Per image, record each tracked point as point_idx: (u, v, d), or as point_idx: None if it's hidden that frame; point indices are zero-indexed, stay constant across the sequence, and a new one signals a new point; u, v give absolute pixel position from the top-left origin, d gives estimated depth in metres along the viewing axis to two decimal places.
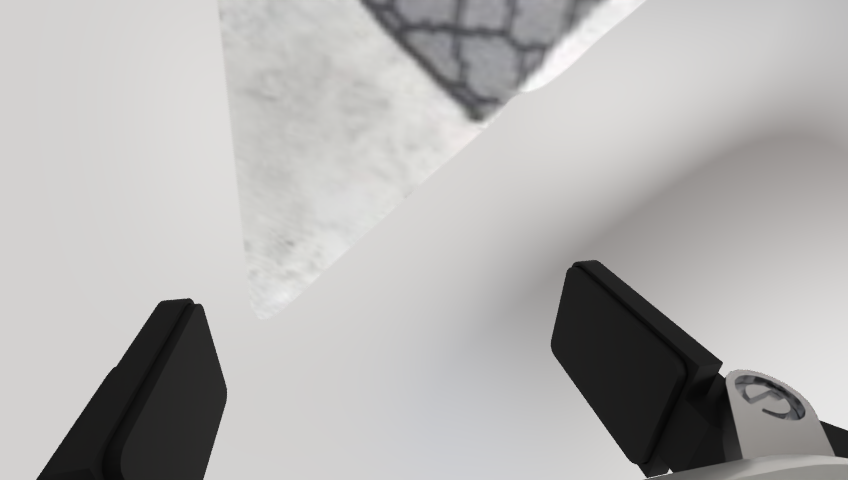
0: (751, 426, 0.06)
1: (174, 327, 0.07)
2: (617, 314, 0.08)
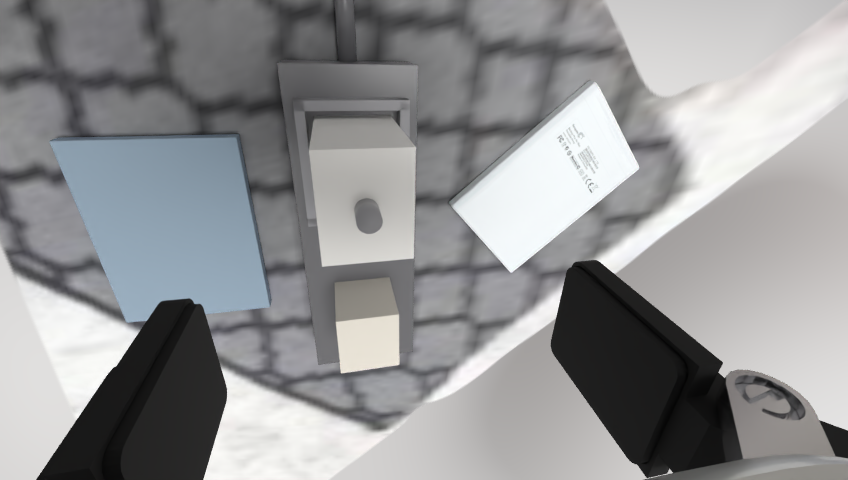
0: (751, 426, 0.06)
1: (174, 327, 0.07)
2: (617, 314, 0.08)
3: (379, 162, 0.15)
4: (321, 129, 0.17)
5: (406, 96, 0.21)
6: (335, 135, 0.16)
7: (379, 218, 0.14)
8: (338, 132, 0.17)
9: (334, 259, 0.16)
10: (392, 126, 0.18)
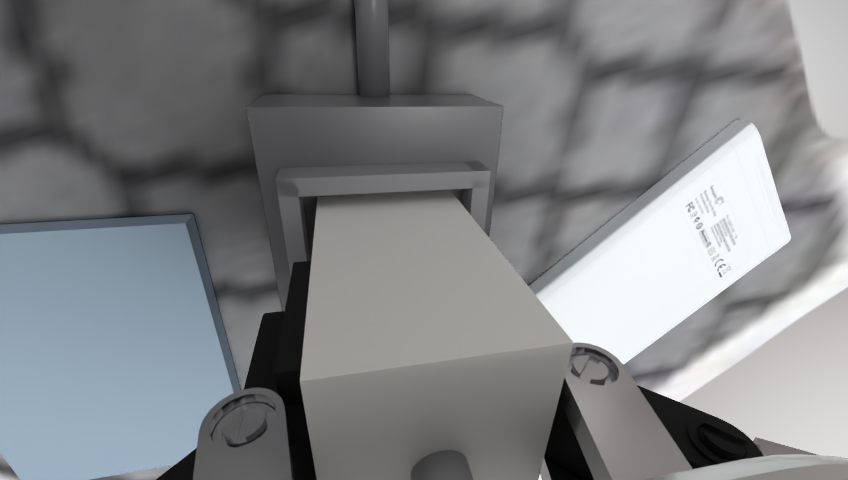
0: (590, 404, 0.06)
1: None
2: None
3: (482, 381, 0.06)
4: (331, 250, 0.08)
5: (479, 159, 0.12)
6: (363, 278, 0.07)
7: None
8: (368, 263, 0.08)
9: None
10: (471, 232, 0.09)
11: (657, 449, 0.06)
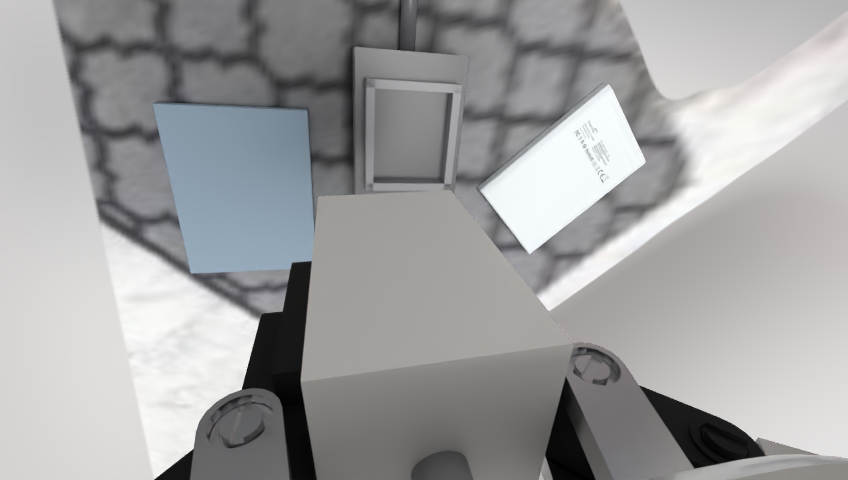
0: (592, 404, 0.06)
1: None
2: None
3: (482, 382, 0.06)
4: (332, 250, 0.08)
5: (457, 82, 0.24)
6: (364, 278, 0.07)
7: None
8: (369, 263, 0.08)
9: None
10: (471, 232, 0.09)
11: (659, 449, 0.06)
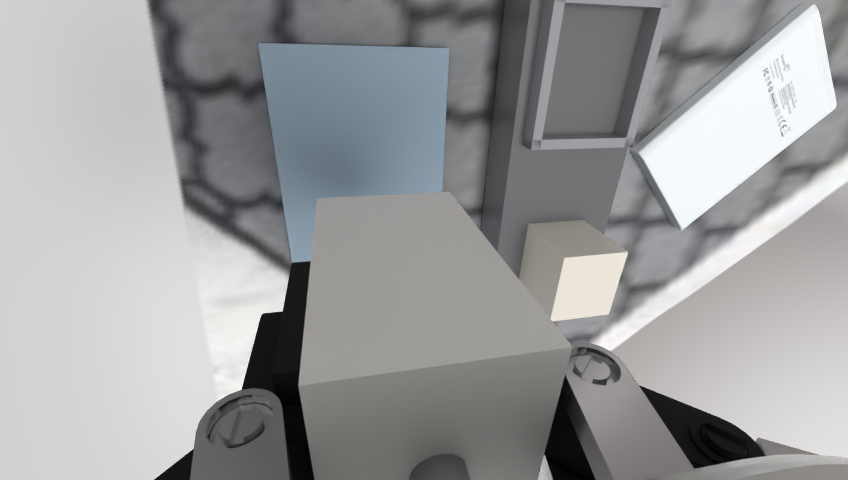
0: (592, 404, 0.06)
1: None
2: None
3: (480, 386, 0.06)
4: (331, 253, 0.08)
5: None
6: (362, 281, 0.07)
7: None
8: (367, 266, 0.08)
9: None
10: (470, 235, 0.09)
11: (659, 449, 0.06)
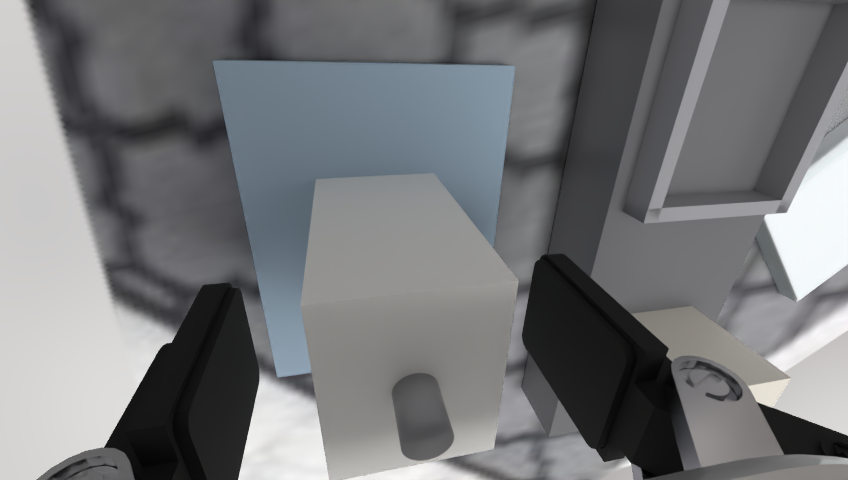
0: (698, 412, 0.06)
1: (219, 308, 0.08)
2: (577, 304, 0.09)
3: (445, 312, 0.07)
4: (327, 219, 0.10)
5: None
6: (353, 239, 0.09)
7: (448, 434, 0.07)
8: (357, 228, 0.09)
9: (352, 469, 0.09)
10: (447, 205, 0.11)
11: None
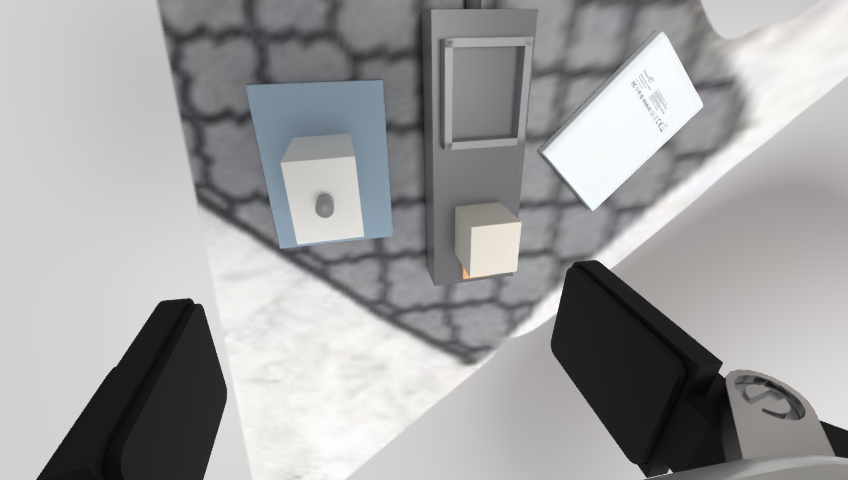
0: (751, 426, 0.06)
1: (174, 327, 0.07)
2: (617, 314, 0.08)
3: (330, 168, 0.21)
4: (294, 147, 0.24)
5: (526, 36, 0.25)
6: (302, 151, 0.23)
7: (331, 206, 0.21)
8: (305, 149, 0.23)
9: (305, 239, 0.23)
10: (347, 142, 0.25)
11: None
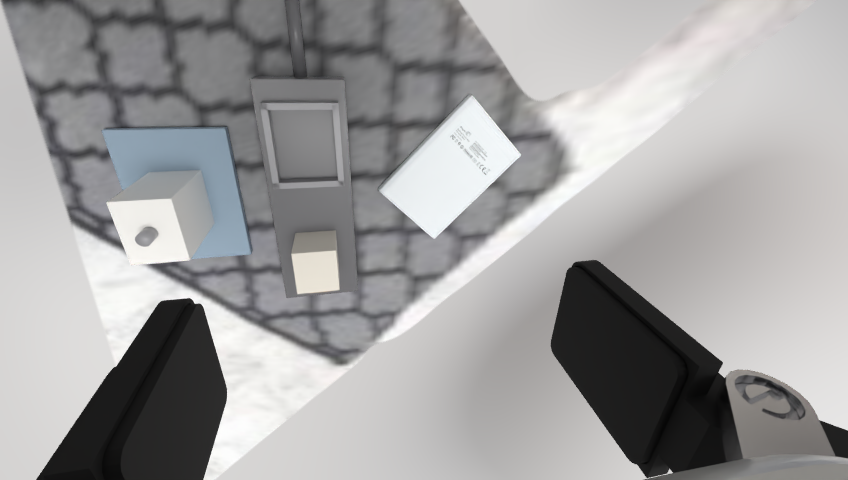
0: (751, 426, 0.06)
1: (174, 327, 0.07)
2: (617, 314, 0.08)
3: (150, 207, 0.27)
4: (136, 185, 0.29)
5: (338, 100, 0.31)
6: (138, 189, 0.28)
7: (148, 238, 0.26)
8: (143, 187, 0.29)
9: (137, 261, 0.28)
10: (184, 181, 0.30)
11: None
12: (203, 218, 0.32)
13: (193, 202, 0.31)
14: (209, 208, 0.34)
